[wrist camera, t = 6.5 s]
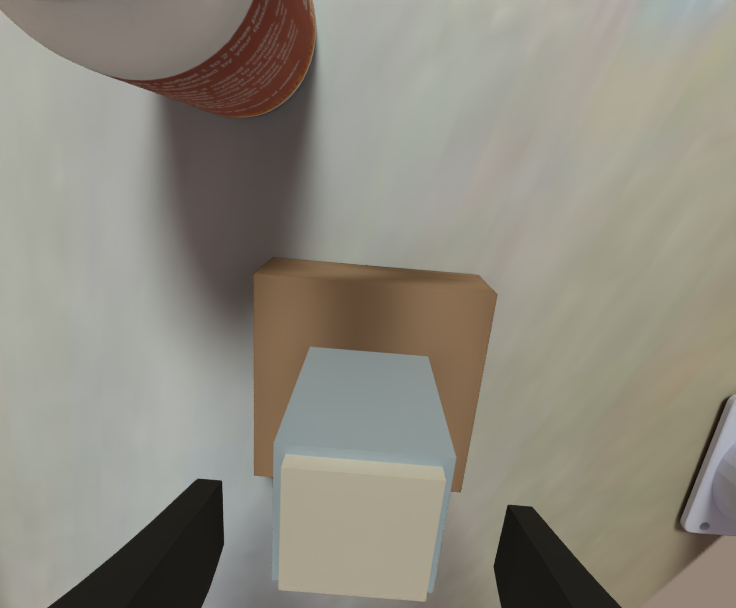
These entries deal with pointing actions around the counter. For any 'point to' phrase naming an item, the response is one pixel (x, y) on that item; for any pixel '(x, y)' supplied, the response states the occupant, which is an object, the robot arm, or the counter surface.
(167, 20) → the pill bottle
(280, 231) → the counter surface
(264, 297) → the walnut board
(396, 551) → the blue block cream face
